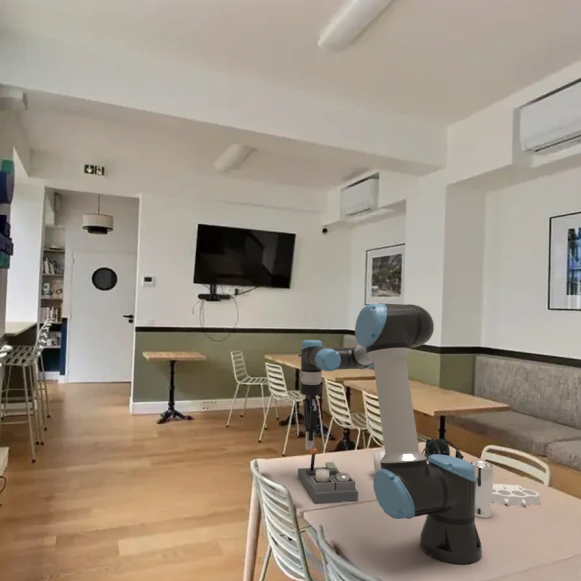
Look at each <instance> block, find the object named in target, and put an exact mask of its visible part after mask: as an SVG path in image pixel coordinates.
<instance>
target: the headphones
mask: <svg viewBox="0 0 581 581" xmlns="http://www.w3.org/2000/svg"><path fill="white" fill-rule="evenodd" d="M424 446H425V448H423V450H422V452H421V453H422V454H423V455H424V456H425V457H426V458H427V461H428V459H429V456H430V455H433V454H440V455H447V456H451V451H450V449H451V448H450V446H451V447H453V448H454V450H455V456H454V457H456V458H459V459H462V460H464V455H463V454H462V453H461V451H460V450H459V449H458V447H457V446H455V445H454V443H452V442H451V441H450V440H448V439H446V438H442V439H441V438H438V439H434V438H431V439H429V438H426V441H425V445H424Z"/></svg>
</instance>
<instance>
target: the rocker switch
mask: <svg viewBox="0 0 581 581" xmlns="http://www.w3.org/2000/svg"><path fill="white" fill-rule="evenodd" d="M324 467H327V469H328V470H329V471H337V469H338V468H337V466H336V464H335V463H334V461H331V462H330V461H329V462H328V461H326V462H325V465H324Z"/></svg>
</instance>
